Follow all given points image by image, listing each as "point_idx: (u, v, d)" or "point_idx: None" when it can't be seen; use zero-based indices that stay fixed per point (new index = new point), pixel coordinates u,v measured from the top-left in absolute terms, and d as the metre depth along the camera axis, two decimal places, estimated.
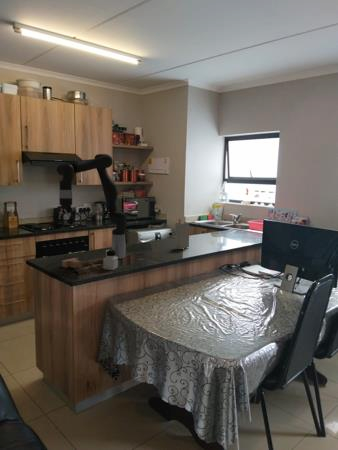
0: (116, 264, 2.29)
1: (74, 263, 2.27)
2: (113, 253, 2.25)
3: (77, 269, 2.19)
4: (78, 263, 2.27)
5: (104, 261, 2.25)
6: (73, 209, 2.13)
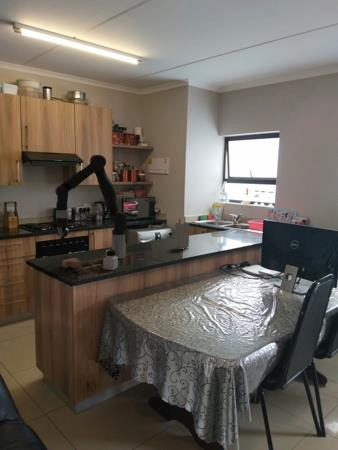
0: (116, 264, 2.29)
1: (74, 263, 2.27)
2: (113, 253, 2.25)
3: (77, 269, 2.19)
4: (78, 263, 2.27)
5: (104, 261, 2.25)
6: (67, 231, 2.31)
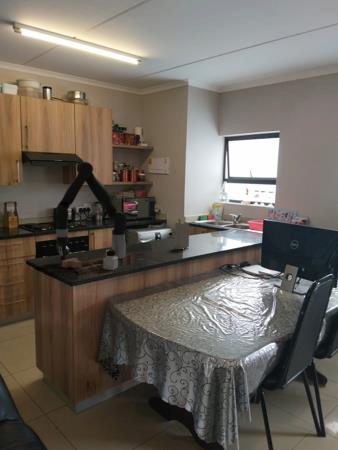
0: (116, 264, 2.29)
1: (74, 263, 2.27)
2: (113, 253, 2.25)
3: (77, 269, 2.19)
4: (78, 263, 2.27)
5: (104, 261, 2.25)
6: (68, 250, 2.33)
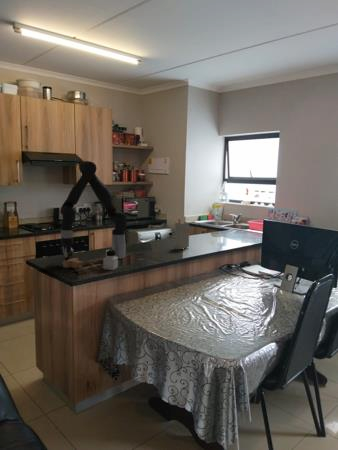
0: (116, 264, 2.29)
1: (75, 263, 2.26)
2: (113, 253, 2.25)
3: (77, 269, 2.19)
4: (79, 263, 2.26)
5: (104, 261, 2.25)
6: (72, 251, 2.30)
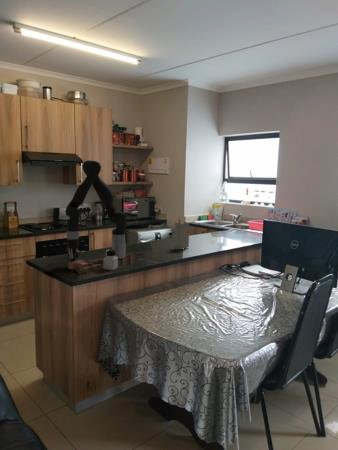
0: (116, 264, 2.29)
1: (81, 265, 2.23)
2: (113, 253, 2.25)
3: (77, 269, 2.19)
4: (85, 265, 2.22)
5: (104, 261, 2.25)
6: (78, 253, 2.26)
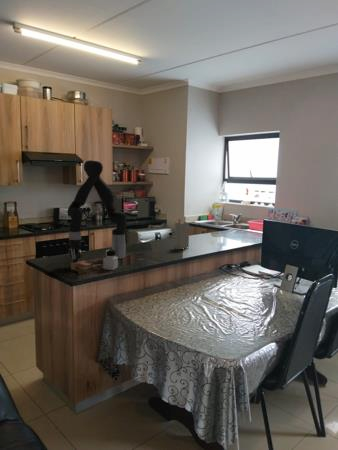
0: (116, 264, 2.29)
1: (83, 266, 2.21)
2: (113, 253, 2.25)
3: (77, 269, 2.19)
4: (87, 266, 2.21)
5: (104, 261, 2.25)
6: (81, 253, 2.25)
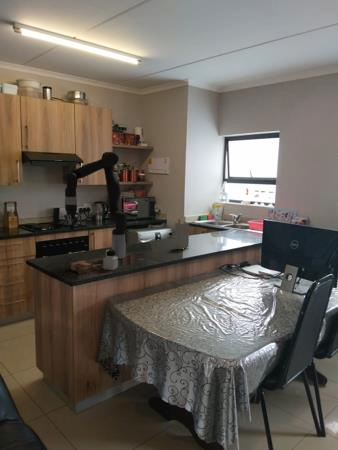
0: (116, 264, 2.29)
1: (83, 266, 2.21)
2: (113, 253, 2.25)
3: (77, 269, 2.19)
4: (87, 266, 2.21)
5: (104, 261, 2.25)
6: (77, 218, 2.28)
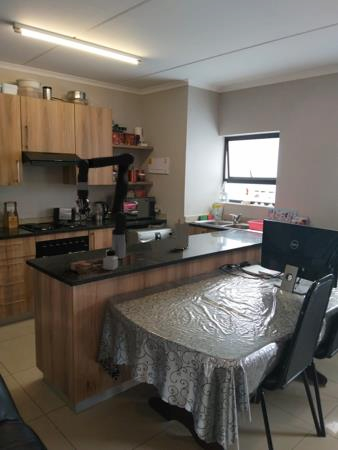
0: (116, 264, 2.29)
1: (83, 266, 2.21)
2: (113, 253, 2.25)
3: (77, 269, 2.19)
4: (87, 266, 2.21)
5: (104, 261, 2.25)
6: (88, 203, 2.39)
